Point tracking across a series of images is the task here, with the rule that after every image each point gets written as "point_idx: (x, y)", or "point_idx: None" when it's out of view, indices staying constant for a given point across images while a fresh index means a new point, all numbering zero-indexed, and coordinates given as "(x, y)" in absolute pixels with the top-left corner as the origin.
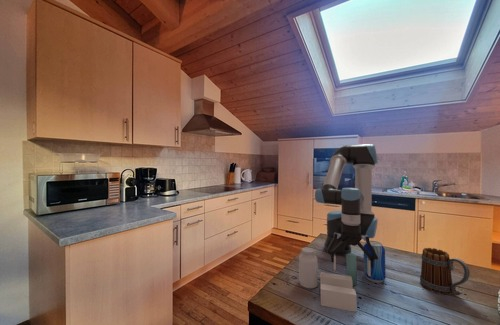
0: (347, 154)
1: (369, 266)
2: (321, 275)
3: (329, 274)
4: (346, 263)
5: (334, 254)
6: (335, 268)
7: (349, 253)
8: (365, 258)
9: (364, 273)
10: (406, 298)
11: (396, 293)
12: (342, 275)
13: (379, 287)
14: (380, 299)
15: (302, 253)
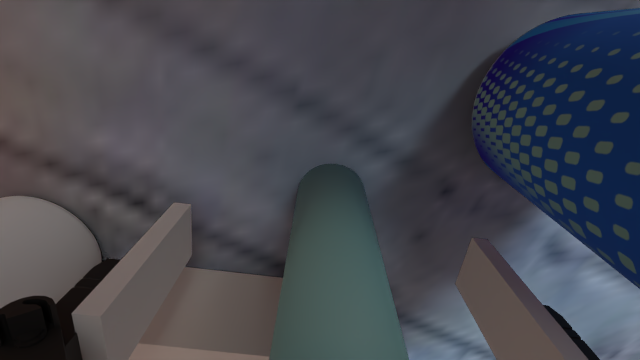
0: None
1: (503, 356)
2: None
3: (130, 357)
4: (281, 287)
5: (90, 335)
6: (179, 271)
7: (331, 340)
8: (585, 204)
9: (477, 113)
10: (586, 296)
11: (566, 263)
12: (230, 357)
13: (500, 219)
14: (435, 321)
15: None
